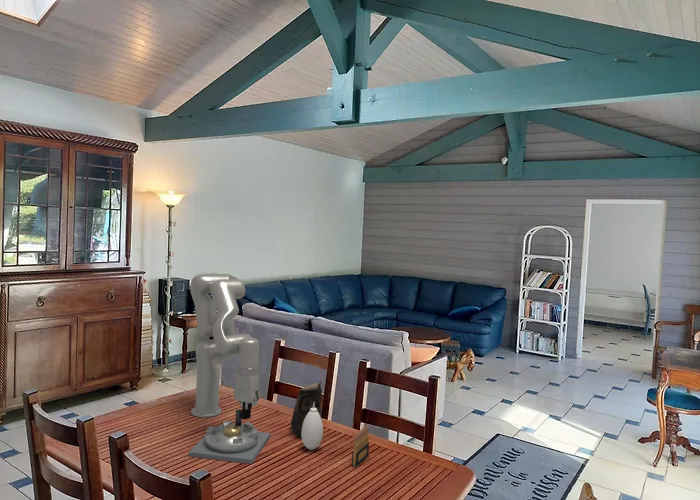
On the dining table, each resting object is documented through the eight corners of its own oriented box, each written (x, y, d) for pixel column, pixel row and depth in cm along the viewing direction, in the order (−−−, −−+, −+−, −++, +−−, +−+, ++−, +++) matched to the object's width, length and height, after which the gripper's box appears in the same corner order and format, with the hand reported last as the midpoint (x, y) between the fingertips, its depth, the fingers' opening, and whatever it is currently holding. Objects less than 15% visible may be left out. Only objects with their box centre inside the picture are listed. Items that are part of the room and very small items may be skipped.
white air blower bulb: (309, 442, 193) (312, 396, 193) (325, 448, 189) (328, 401, 188) (296, 449, 187) (299, 401, 186) (312, 455, 182) (315, 406, 182)
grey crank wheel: (250, 455, 176) (251, 429, 175) (197, 450, 177) (198, 425, 177) (263, 433, 195) (264, 410, 194) (215, 428, 196) (216, 406, 196)
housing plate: (214, 430, 199) (214, 426, 199) (270, 437, 196) (270, 432, 196) (188, 456, 176) (188, 451, 176) (251, 463, 173) (251, 459, 173)
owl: (320, 427, 209) (323, 379, 208) (323, 439, 196) (326, 389, 196) (290, 426, 207) (293, 379, 206) (290, 439, 195) (293, 389, 194)
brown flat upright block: (355, 467, 175) (358, 433, 175) (351, 466, 176) (353, 432, 176) (368, 456, 185) (370, 424, 184) (364, 454, 186) (366, 422, 185)
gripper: (227, 369, 193) (225, 416, 193) (254, 376, 184) (252, 426, 184) (242, 365, 199) (240, 411, 199) (268, 372, 190) (267, 420, 190)
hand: (246, 418), depth 192 cm, fingers closed
